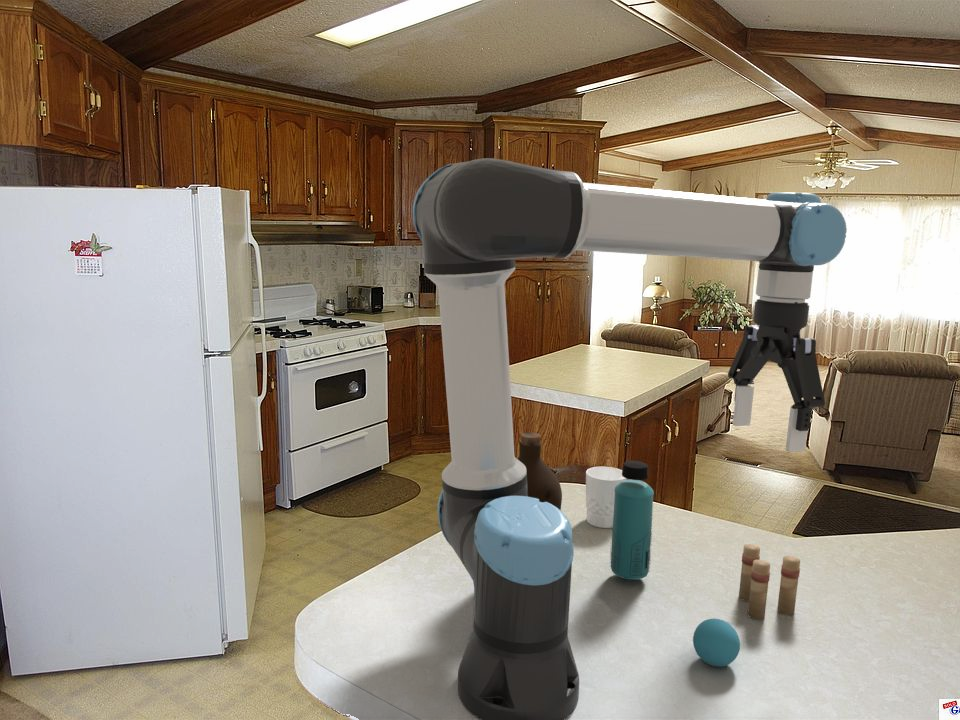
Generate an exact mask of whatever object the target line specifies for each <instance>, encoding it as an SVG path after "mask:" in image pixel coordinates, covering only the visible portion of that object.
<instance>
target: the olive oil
mask: <svg viewBox="0 0 960 720" xmlns="http://www.w3.org/2000/svg"><path fill="white" fill-rule="evenodd" d="M541 437H542V435H541V434H540V433H537V432H531V431H526V432H523V433H521V434H520V437H519V438H520V442H519V446H518V447H519V450H518V451H519V452H518V453H519V455H518V458H517V459H518V460H519V461H520V462H522V463H523V464H524V465H525V467H526V470H527V487H528V497H532V498H536V499H539V501H540V502H548V503H550V504H552V505H554V506H555V507H557V508H558V509H559V510H560V511H562V503H563V502H562V501H563V491H562V487H561V483H560V480H559V478H558V477H557V475H556V474H555V472H553V471H552V470H551V468H550V467H549V466H548V465H547V464H546V463H545V462H544V460H543V459H542V457H541V453H542V442H541V440H542V439H541Z"/></svg>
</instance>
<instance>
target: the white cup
mask: <svg viewBox="0 0 960 720" xmlns="http://www.w3.org/2000/svg"><path fill="white" fill-rule="evenodd" d="M622 470H623V469H620V468H617V467H612V466H593V467H590V468H587V470H585V508H586V522H587V523H588V524H589V525H591V526H594V527H595V528H601V529H602V528H603V529H612V527H613V520H612V519H613V515H614V498H615V487H616V486H617V485H618V484H619V483H621V482H622V481H624V480H628V479H627V478H625V477H623V476H622Z"/></svg>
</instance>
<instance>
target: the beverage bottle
mask: <svg viewBox="0 0 960 720" xmlns="http://www.w3.org/2000/svg"><path fill="white" fill-rule="evenodd" d="M622 464H623V465H622V469H621V470H622V476H623V477H625V478H627V480H624V481H622V482H621V483H619V484H618V485H617V486H616V487H615V498H614V515H613V519H612V520H613V527H612V528H611V547H610V551H609V553H610V554H609V555H610V566H609V567H610V569H611V572H612V573H613V574H614V575H616V576H617V577H619V578H623V579H627V580H641V579H644V578H646V577H647V576H648V574H649V572H650V570H651V569H650V568H651V567H650V566H651V563H650V562H651V558H652V557H651V555H652V554H651V548H652V543H653V541H652V540H653V537H652V534H653V531H652V529H653V508H654V507H653V506H654V505H653V503H654V495H655V492H654V489H653V488H652V487H651V486H650V485H649V484H648V483H646V482H645V481H644V480H646V479H648V478H649V467H648V464H647V463H645V462H643V461H639V460H627V461H625V462H624V463H622Z"/></svg>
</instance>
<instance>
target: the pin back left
mask: <svg viewBox="0 0 960 720" xmlns="http://www.w3.org/2000/svg"><path fill="white" fill-rule="evenodd" d="M760 551H761V547H760V546H758V545H756V544H751V543H746V544H744V545H743V550H742V555H741V556H742V557H741V570H740V571H741V573H740V581H739V589H738V590H739V591H738V598H739V599H740V600H742V601H745V602H749V597H750V587H751V572H752V568H753V561H754V560H761V559H760V558H761V556H760V555H761V554H760V553H761V552H760Z"/></svg>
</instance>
